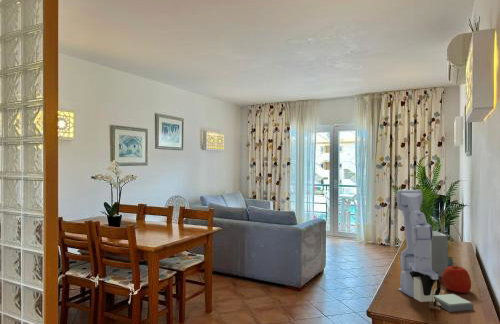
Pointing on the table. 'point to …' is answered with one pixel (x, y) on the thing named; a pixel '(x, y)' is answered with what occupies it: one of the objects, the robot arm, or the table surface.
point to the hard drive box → (439, 253)
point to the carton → (421, 291)
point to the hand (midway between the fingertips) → (423, 292)
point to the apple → (456, 279)
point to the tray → (453, 302)
